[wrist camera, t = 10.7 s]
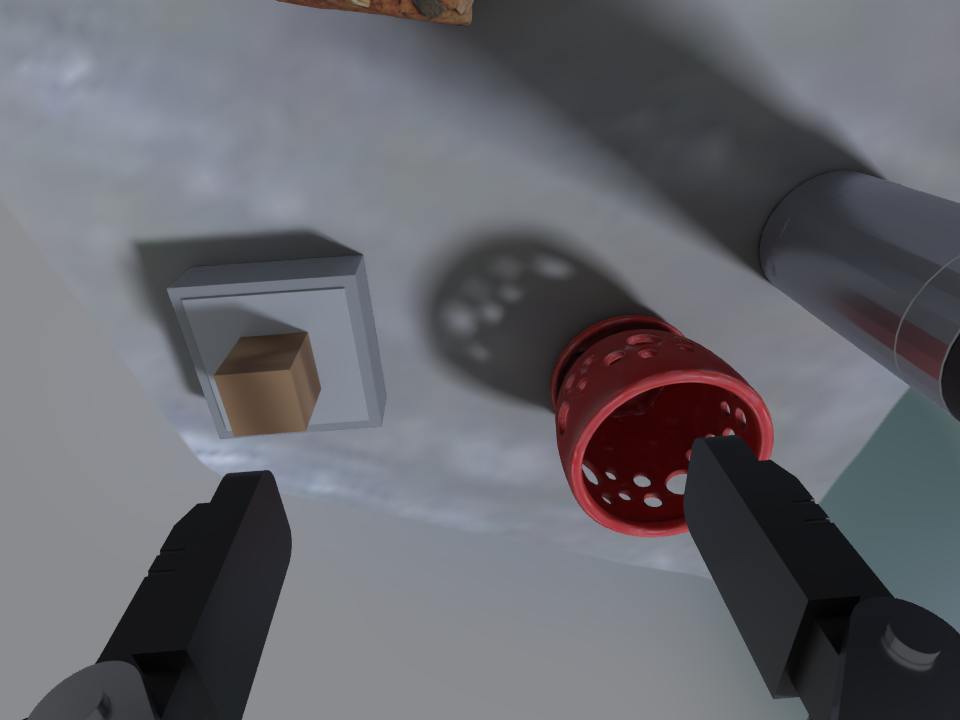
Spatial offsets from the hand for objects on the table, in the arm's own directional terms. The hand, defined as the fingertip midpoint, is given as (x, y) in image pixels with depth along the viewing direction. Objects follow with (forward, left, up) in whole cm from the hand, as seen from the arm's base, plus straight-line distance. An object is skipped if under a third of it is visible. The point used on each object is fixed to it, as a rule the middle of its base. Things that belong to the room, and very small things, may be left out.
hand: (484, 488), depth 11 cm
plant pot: (-12, +16, -30) cm, 36 cm away
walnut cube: (+13, +11, -26) cm, 31 cm away
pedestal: (+13, +11, -30) cm, 34 cm away
